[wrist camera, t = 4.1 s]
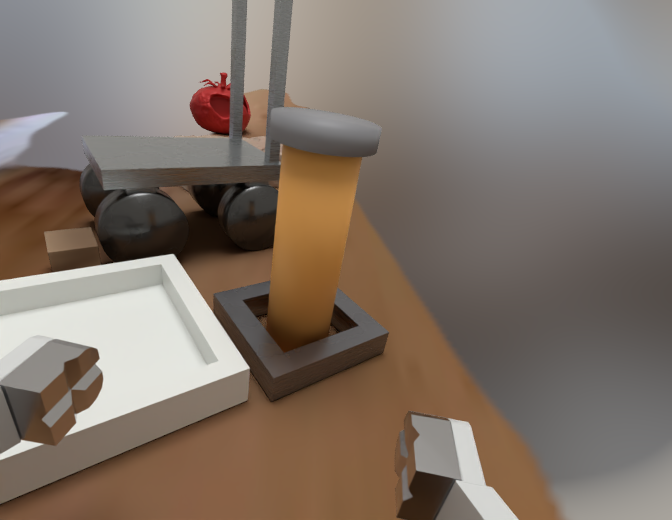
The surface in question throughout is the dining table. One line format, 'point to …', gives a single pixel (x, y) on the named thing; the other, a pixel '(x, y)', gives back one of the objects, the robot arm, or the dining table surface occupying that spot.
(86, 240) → the block
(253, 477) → the dining table surface
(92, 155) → the trolley
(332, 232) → the pin
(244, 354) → the socket
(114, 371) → the tray
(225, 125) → the red hollow tomato
